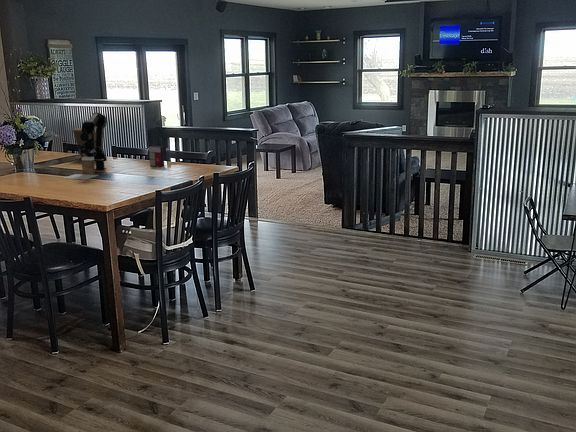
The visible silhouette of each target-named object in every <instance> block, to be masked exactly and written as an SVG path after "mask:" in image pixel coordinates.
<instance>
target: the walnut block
mask: <svg viewBox="0 0 576 432" xmlns="http://www.w3.org/2000/svg"><path fill="white" fill-rule="evenodd" d="M81 158H82V159H81ZM80 159H81V168H82V174H88V175H96V170H95V169H96V163H95V161H94V157H80Z"/></svg>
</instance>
